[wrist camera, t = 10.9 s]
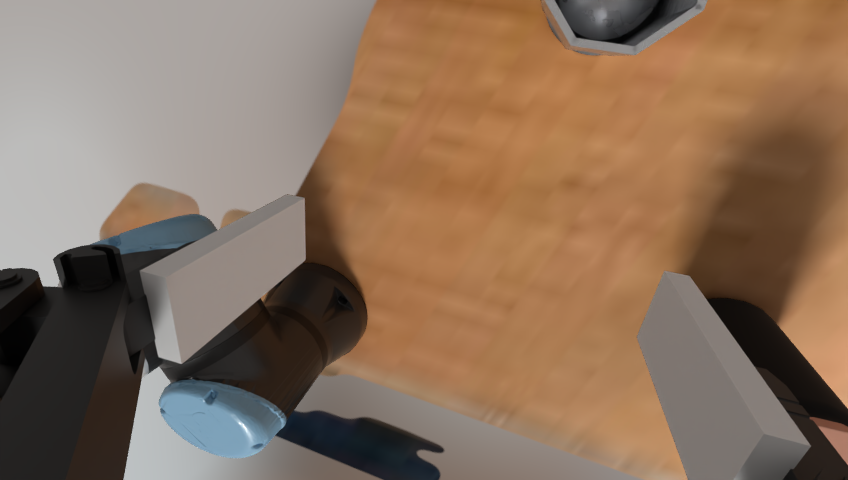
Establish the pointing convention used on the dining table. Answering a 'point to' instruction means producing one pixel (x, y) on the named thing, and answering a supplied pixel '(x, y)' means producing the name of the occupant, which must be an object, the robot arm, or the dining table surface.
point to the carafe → (670, 12)
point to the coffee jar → (785, 366)
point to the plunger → (605, 16)
